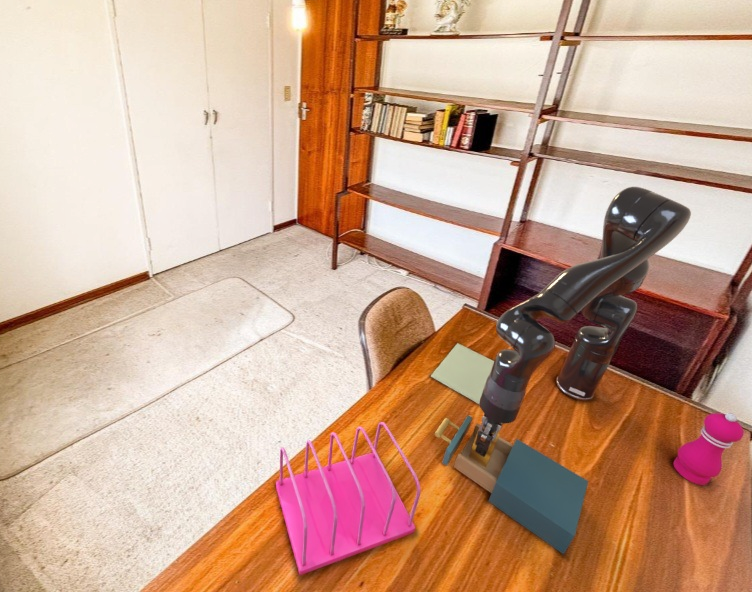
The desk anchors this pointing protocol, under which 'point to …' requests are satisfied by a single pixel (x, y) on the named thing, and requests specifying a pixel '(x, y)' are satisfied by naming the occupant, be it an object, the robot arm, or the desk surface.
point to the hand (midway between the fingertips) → (483, 446)
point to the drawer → (467, 464)
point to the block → (486, 459)
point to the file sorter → (342, 506)
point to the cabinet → (540, 495)
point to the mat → (464, 372)
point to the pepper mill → (708, 448)
